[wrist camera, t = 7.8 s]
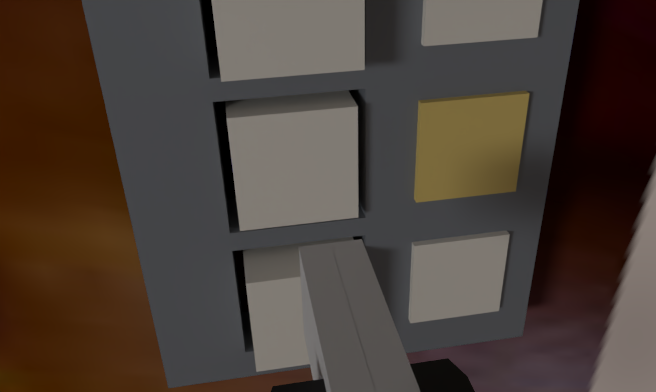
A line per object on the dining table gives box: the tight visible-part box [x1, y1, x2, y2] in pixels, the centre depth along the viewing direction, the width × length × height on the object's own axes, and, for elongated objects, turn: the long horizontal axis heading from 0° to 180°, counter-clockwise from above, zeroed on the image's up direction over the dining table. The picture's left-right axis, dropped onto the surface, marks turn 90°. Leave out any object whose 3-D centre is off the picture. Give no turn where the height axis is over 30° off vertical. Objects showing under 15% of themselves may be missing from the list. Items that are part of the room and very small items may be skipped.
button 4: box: [243, 237, 354, 372], centre depth 24 cm, size 4×4×2 cm
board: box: [82, 0, 579, 388], centre depth 22 cm, size 26×16×3 cm, turn 2°
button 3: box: [225, 90, 358, 231], centre depth 22 cm, size 4×4×2 cm
